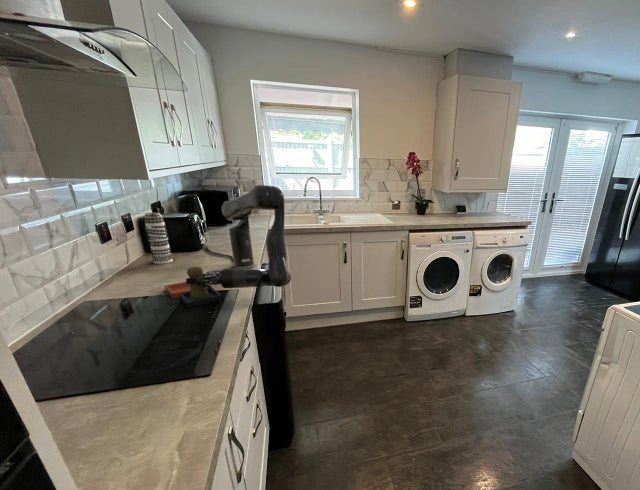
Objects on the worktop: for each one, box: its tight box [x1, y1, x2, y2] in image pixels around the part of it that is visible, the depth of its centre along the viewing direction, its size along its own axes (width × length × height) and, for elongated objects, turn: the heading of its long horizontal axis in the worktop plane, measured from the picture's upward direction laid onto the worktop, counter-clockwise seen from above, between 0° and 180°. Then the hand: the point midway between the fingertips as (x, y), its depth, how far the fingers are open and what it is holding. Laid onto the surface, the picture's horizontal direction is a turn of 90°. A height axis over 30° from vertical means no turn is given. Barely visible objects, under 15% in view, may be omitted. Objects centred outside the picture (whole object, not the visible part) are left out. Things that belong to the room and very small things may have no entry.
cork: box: [186, 266, 208, 298], centre depth 124 cm, size 6×6×11 cm
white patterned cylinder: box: [143, 212, 174, 265], centre depth 165 cm, size 9×9×25 cm
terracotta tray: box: [164, 281, 190, 299], centre depth 133 cm, size 12×12×2 cm
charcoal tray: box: [179, 286, 223, 309], centre depth 126 cm, size 12×12×2 cm
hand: (189, 278), depth 123 cm, fingers closed on cork, 4 cm apart
